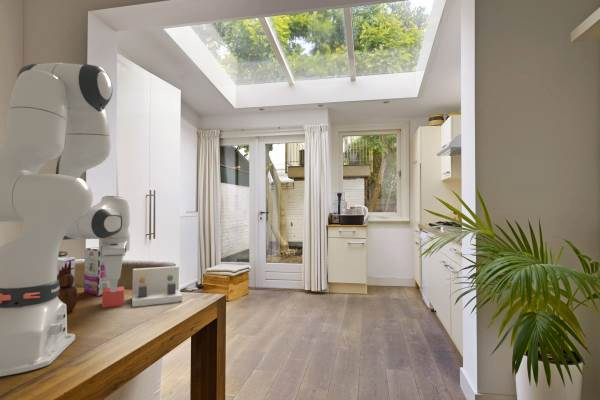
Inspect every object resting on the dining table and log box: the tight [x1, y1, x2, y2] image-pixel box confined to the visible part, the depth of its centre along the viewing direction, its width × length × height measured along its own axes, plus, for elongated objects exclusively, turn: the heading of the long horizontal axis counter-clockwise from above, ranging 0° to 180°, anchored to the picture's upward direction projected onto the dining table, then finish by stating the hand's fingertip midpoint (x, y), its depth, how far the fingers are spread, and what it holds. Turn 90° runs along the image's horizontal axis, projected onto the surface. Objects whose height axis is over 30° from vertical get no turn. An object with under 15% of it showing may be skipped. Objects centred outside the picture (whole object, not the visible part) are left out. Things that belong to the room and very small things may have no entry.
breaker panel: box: [131, 265, 183, 308], centre depth 117 cm, size 12×15×10 cm
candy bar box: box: [83, 246, 110, 297], centre depth 125 cm, size 11×5×16 cm, turn 55°
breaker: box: [138, 285, 147, 298], centre depth 113 cm, size 2×2×5 cm
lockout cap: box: [101, 286, 125, 308], centre depth 111 cm, size 6×6×5 cm
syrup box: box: [57, 256, 76, 286], centre depth 114 cm, size 6×6×14 cm
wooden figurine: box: [57, 261, 79, 313], centre depth 103 cm, size 7×6×15 cm
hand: (114, 287), depth 112 cm, fingers open, 8 cm apart
